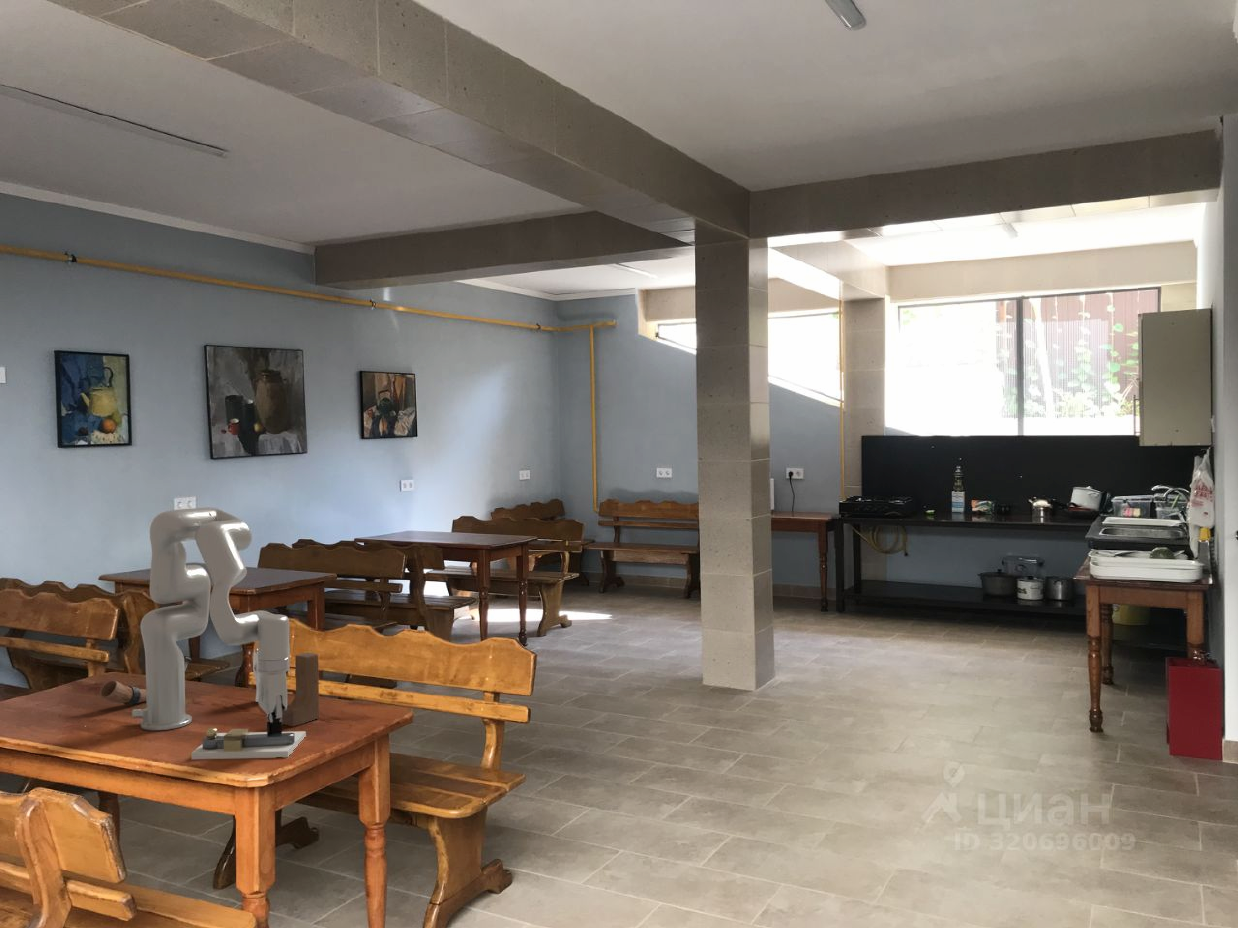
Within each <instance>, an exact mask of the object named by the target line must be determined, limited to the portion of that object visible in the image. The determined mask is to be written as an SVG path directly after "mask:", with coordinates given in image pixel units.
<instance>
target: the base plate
mask: <svg viewBox="0 0 1238 928" xmlns="http://www.w3.org/2000/svg"><path fill="white" fill-rule="evenodd" d="M227 733H228V732H217V736H224V735H226V734H227ZM282 733H294V734H295V742H294V743H292V744H284V745H265V746H246V747H243V750H242V751H241V752H224V748H216V749H203V748H202V744H200V746H198V747H197V748H195V750H193V751H192V752H191V760H219V759H220V760H223V759H224V760H225V759H227V760H228V759H230V760H231V759H232V760H233V759H267V758H268V759H272V758H274V759H276V757H283V758H289V757H290V756H291V755H292V754H293V753H294V751H295V750H296V749H297V748H298V747H299V746H298V744H299V743H300V742H301V741H302V740H303V739H304V737H307V732H306V731H304V730H303V731H301V730H300V731H282ZM254 734H267V731H259V732H258V731H257V732H251V731H250V732H249V731H248V734H247V735H254ZM304 740H305V739H304ZM304 740H303V741H304ZM303 741H302V742H303ZM302 742H301V743H302ZM301 743H300V744H301ZM300 744H299V745H300ZM297 746H298V747H297ZM296 747H297V748H296ZM295 748H296V749H295ZM294 749H295V750H294ZM293 750H294V751H293ZM290 754H291V755H290ZM289 755H290V756H289Z"/></svg>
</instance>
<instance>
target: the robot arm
mask: <svg viewBox="0 0 1238 928" xmlns="http://www.w3.org/2000/svg"><path fill="white" fill-rule="evenodd" d="M252 538H253V537H252V531H251V529H250V528H249V525H248V524H247V523H246V522H245V521H243V519H241V518H239V517H237V516H235V515H233V514H230V513H228V512H225V511H224V510H223V509H220V508H217V507H210V506H209V507H208V506H207V507H195V508H180V509H173V510H168V511H167V510H166V511H163V512H160V513H159V514H157V515H156V516H155V517H153V519H152V521H151V523H150V527H149V541H150V546H151V547H150V548H151V562H150V577H149V596H150V598H151V600H152V601H153V602H154V603H157V604H159V605H166V604H173V603H178V602H179V603H180V602H181V603H182V604H175V605H171V606H164V607H160V608H155V609H152V610H150V611H149V612H146V614H144V616H143V617H142V619H141V621H140V633H141V637H142V643H143V647H144V656H145V657H144V658H145V689H146V707H145V708H144V709H139V708H138V709H137V708H135V709H132V711H131V716H132V718H133V719H142V720H141V721H140V728H141V729H142V730H146V731H167V730H174V729H177V728H182V727H184V726H187V725H189V724H190V723H191V722H192V720H193V717H192V715H190V714H188V713H186V683H185V682H186V677H185V676H186V675H185V672H184V663H185V657H184V654H183V652H182V650H181V648H180V647H179V646H178V644H177V642H179V641H183V640H187V639H191V638H195V637H199V636H200V635H202V634H203V633H204V632H205V631H206V629H207V626H208V622H209V616H210V620H211V622H212V625H213V627H214V629H215V631H216V634H217V635H218V638H220V640H221V641H222V642H223V643H224V644H225V645H227V646H231V647H237V646H242V645H245V644H250V643H254V642H257V649H258V672H259V673H260V683H259V703H258V706H259V708H261V709H262V711H263V712H265V713H266V720H267V721H266V732H267V734H273V733H282V732H283V731H282V730H283V727H282V726H283V718H282V710H283V711H286V710H287V706H288V682H287V681H288V680H287V672H288V671H290V670H291V669H290V668H291V667H290V661H291V660H290V658H291V657H290V656H291V654H290V649H291V647H290V646H291V645H290V619H289V617H288V616H287V615H284V614H274V613H272V612H269V611H267V610H254V611H249V612H248V611H247V612H244V613H239V614H234V612H233V609H232V607H231V604H230V599H229V598H230V597H229V596H230V591H231V590H232V589H231V588H233V587H234V586H236V585H237V584H239V583H240V582H241V581H243V580H244V578H245V577H246V576H247V575H248V570H247V569H248V568H246V566H245V563H244V560H243V559H242V556H241V553H240V551H244V550H247V549H248V548H249V547H250V546H251V543H252ZM186 541H188V542H189V541H195V542H196V546H197V547H198V549H199V552H200V554H201V557H202V559H203V562H204V564H205V566H206V568H207V570H208V571H207V570H206V569H205V568H204V567H203V566H201V565H198V564H187V562H186V561H187V552H186V548H185V547H184V544H183V543H182V542H186ZM210 578H211V579H210ZM211 580H212V583H213V588H212V591H211V587H212V586H211Z"/></svg>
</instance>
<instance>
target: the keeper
mask: <svg viewBox="0 0 1238 928" xmlns="http://www.w3.org/2000/svg"><path fill="white" fill-rule="evenodd" d="M248 732H249V728H231V729H230V730H229V731H228V732H226V733H227V734H226V735H224V736H223V740H224V752H241V751H242V750H243V747H242V738H244V737H245V736H246V735H247V734H248ZM217 733H218V728H217V727H210V728H209V727H208V728H207V729H206V737H207V738H208V739H212V738H216V737H217Z"/></svg>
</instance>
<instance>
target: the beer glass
mask: <svg viewBox="0 0 1238 928" xmlns="http://www.w3.org/2000/svg"><path fill="white" fill-rule="evenodd" d="M252 659H253V660H252V667H253V668H252V670H253V675H254V681H255V685H256V694H255V701H256V702H258V703H257V704H259V683H260V673H259V672H258V648H257V649H254V651H253V657H252ZM256 702H255V703H256Z"/></svg>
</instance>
